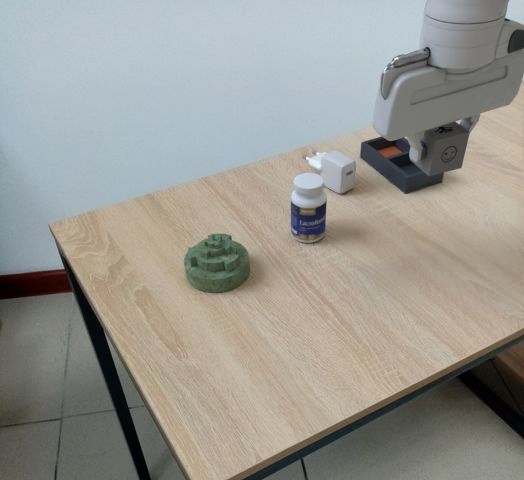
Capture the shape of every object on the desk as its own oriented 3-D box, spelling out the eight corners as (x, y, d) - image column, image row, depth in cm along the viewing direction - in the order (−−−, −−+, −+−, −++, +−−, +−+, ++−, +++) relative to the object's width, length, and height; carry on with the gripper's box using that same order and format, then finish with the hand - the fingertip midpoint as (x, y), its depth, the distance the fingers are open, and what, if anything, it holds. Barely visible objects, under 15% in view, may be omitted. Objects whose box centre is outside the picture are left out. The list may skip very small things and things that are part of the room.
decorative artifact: (187, 255, 87) (186, 295, 80) (179, 218, 81) (178, 258, 75) (247, 249, 87) (252, 289, 80) (244, 212, 82) (248, 251, 75)
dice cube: (428, 176, 71) (435, 140, 67) (409, 159, 74) (415, 124, 70) (461, 168, 72) (469, 132, 68) (441, 151, 75) (448, 116, 71)
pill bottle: (300, 248, 86) (300, 193, 79) (285, 229, 90) (283, 176, 82) (331, 238, 88) (334, 183, 80) (315, 220, 91) (316, 167, 84)
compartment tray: (394, 147, 107) (396, 132, 105) (442, 181, 97) (445, 166, 95) (359, 157, 105) (361, 142, 103) (405, 193, 95) (407, 178, 93)
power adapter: (298, 174, 102) (297, 145, 97) (316, 165, 104) (317, 136, 99) (338, 197, 96) (340, 167, 91) (357, 187, 97) (360, 157, 93)
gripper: (400, 68, 57) (386, 184, 67) (546, 29, 62) (512, 142, 72) (367, 51, 61) (359, 163, 71) (507, 15, 66) (481, 124, 76)
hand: (437, 152), depth 72 cm, fingers closed on dice cube, 5 cm apart
